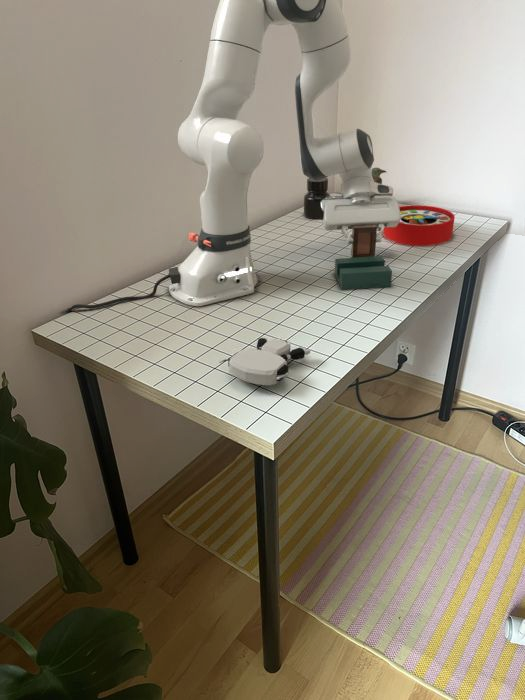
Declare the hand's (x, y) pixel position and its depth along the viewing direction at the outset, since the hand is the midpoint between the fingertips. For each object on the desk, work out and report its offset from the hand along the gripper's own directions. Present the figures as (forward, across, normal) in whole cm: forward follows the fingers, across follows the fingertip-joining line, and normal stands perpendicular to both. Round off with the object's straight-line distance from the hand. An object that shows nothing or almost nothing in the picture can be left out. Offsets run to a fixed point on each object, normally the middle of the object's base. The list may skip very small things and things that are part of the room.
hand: (364, 242), depth 144 cm
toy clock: (-10, +21, +18) cm, 29 cm away
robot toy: (+40, -29, -31) cm, 58 cm away
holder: (+12, -3, -4) cm, 13 cm away
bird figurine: (-28, +12, +37) cm, 48 cm away
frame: (+3, 0, +4) cm, 5 cm away
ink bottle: (-27, -6, +36) cm, 45 cm away
